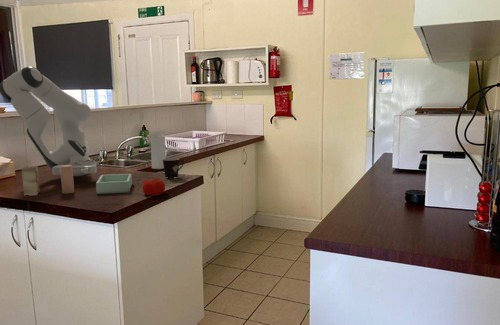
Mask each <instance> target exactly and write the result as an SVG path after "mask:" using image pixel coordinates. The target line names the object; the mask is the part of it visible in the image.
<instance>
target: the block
mask: <svg viewBox="0 0 500 325" xmlns="http://www.w3.org/2000/svg"><path fill="white" fill-rule="evenodd" d="M21 177H22V186H23V196H25V195H29V196H38V193H39V192H41V191H40V190H41V189H40V181H39V180H40V179H39V168H38V166H37V165H35V166H24V167H22V168H21ZM39 194H40V193H39ZM25 197H26V196H25Z"/></svg>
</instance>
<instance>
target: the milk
mask: <svg viewBox="0 0 500 325" xmlns="http://www.w3.org/2000/svg"><path fill="white" fill-rule="evenodd" d="M150 152H151V153H150V154H151V158H150V159H151V169H155V170H162V169H163V170H164V165H163V159H164V158H167V157H166V156H167V154H166V136H165V135H164V134H163V133H162V130H154V132H153V134H152V135H151V136H150Z"/></svg>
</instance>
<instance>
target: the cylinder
mask: <svg viewBox="0 0 500 325" xmlns="http://www.w3.org/2000/svg"><path fill="white" fill-rule="evenodd" d="M60 171H61V174H60V182H61V193H62V194H67V195H68V194H72V193H75V184H74V183H75V182H74V175H73V168H72V165H64V166H60Z"/></svg>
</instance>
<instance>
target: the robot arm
mask: <svg viewBox="0 0 500 325" xmlns="http://www.w3.org/2000/svg"><path fill="white" fill-rule="evenodd" d="M0 95H1V96H2V97H3V98H4V99H5V100H7V101H9V102H10V103H11V105H12V107H13V108H14V110H15V111H16V113H17V114H19V116H20V117H21V118H22V119H23V121H24V122H25V123H26V125H27V128H26V133H27V135H28V137H29V138H30V141H31V142H32V144H33V145H34V146H35V148H36V149H37V151H38V152H39V153H40V156H41V157H42V158H43V160H44V161H45V163H46V165H47V167H48V168H49V169H50V170H51V172H52V175H54V176H55V175H56V176H57V175H58V176H59V175H61V171H60V166H64V165H72V168H73V177H81V176H85V175H89V174H91V175H92V174H96V173H97V172H98V170H97V169H98V168H97V163H96V161H95V160H94V159H90V156H89V155H88V153H87V146H86V140H85V132H84V130H83V129H82V127H81V126H80V123H82V122H87V121H88V120H89V119H90V118H91V116H92V110H91V108H90V106H89V105H88V104H85V103H84V102H81V100H78V99H76V98H75V97H74V96H72V95H70V94H68V93H67V92H65V91H63V90H62V88H60V87H59V86H58V85H56V84H55V83H54V82H53V81H51V80H50V79H49V78H48V77H46V76H45V75H43V74H42V72H41V71H40V70H39V69H37V68H36V67H34V66H30V65H29V66H25V67H23V68H21V69H19V70H17V71H15V72H13V73H12V74H11V75H10V76H8V77H6V78H5V79H3V80H2V81H1V82H0ZM37 98H38V99H37ZM39 100H40V101H41V102H42V103H43V104H45V105H46V106H47V107H48V108H52V109H53V110H52V111H53V115H54V117H55V119H57V121H58V123H59V127H60V129H61V133H62V139H63V143H62V144H60V146H57V147H56V148H55V149H53V150H50V149H49V148H48V146H47V145H46V143H45V142H44V140H43V139H42V138H43V137H42V135H43V133H44V131H45V130H46V128H47V126H48V125H49V122H50V119H51V116H50V112H49V111H48V109H46V106H44V105H43V104H42V103H41V102H40V101H39Z"/></svg>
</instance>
